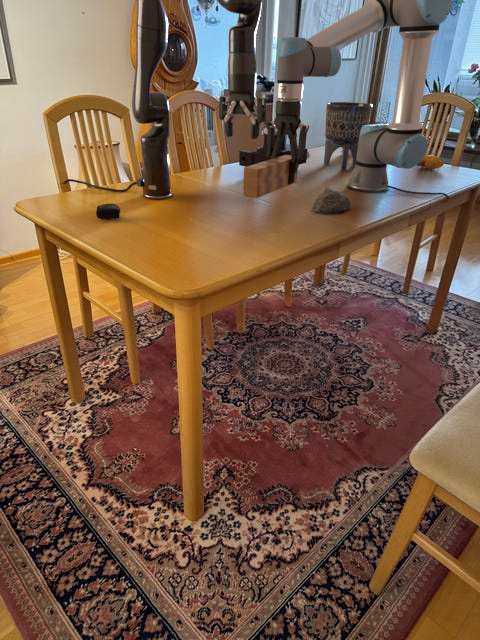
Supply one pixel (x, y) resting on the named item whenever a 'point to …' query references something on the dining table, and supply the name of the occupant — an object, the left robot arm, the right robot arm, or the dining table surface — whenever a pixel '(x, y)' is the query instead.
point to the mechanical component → (261, 154)
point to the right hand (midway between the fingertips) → (283, 181)
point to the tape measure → (108, 211)
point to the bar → (267, 176)
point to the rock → (331, 202)
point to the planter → (345, 128)
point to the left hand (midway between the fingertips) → (241, 137)
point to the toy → (430, 162)
